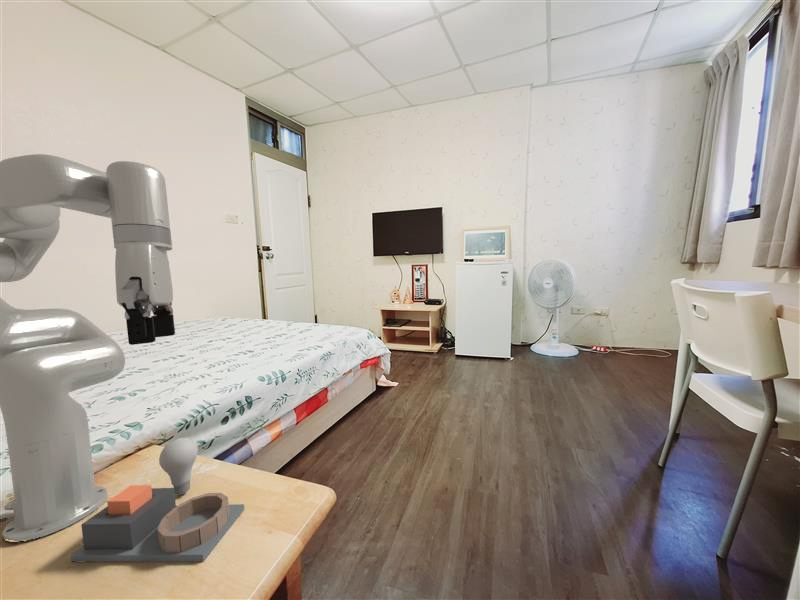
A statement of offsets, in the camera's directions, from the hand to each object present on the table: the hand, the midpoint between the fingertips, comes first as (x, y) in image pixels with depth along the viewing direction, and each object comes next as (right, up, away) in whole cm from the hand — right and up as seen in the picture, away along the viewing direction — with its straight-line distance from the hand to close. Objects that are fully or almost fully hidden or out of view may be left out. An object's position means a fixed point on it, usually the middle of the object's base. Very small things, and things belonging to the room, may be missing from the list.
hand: (154, 339), depth 51 cm
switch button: (-2, -29, -2) cm, 29 cm away
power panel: (+4, -32, -2) cm, 32 cm away
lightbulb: (-1, -32, +8) cm, 33 cm away
